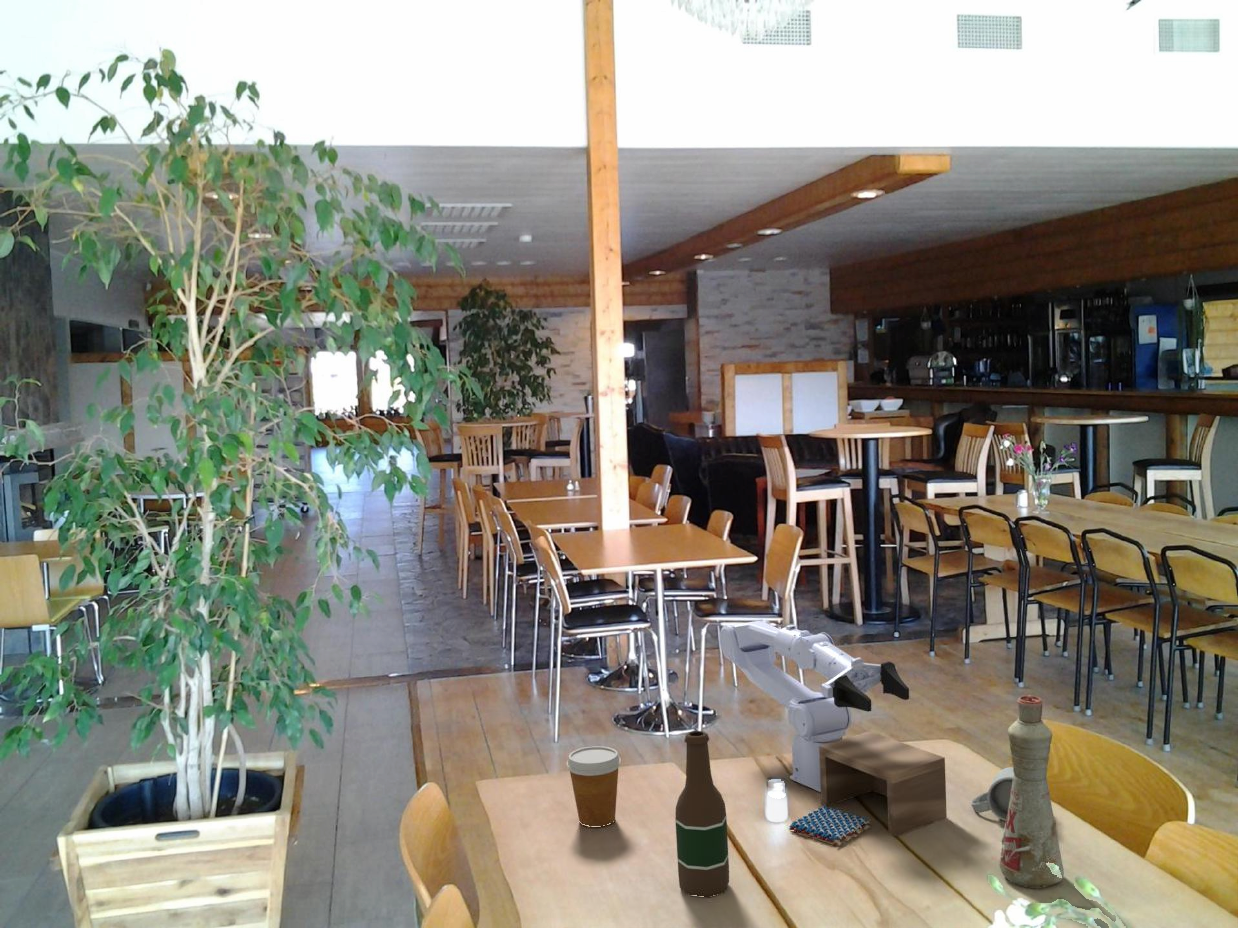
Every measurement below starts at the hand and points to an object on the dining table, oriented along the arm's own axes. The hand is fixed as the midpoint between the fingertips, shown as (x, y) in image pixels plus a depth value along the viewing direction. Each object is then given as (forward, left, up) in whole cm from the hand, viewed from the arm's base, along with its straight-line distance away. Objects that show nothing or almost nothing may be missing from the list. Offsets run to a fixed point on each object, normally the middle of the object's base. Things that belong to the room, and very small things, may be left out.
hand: (888, 699), depth 193 cm
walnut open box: (-4, +2, -21) cm, 22 cm away
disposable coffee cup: (-32, -39, -21) cm, 55 cm away
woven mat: (-4, -10, -22) cm, 24 cm away
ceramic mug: (+10, +17, -21) cm, 29 cm away
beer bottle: (0, -39, -21) cm, 45 cm away
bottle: (+28, +1, -21) cm, 35 cm away
